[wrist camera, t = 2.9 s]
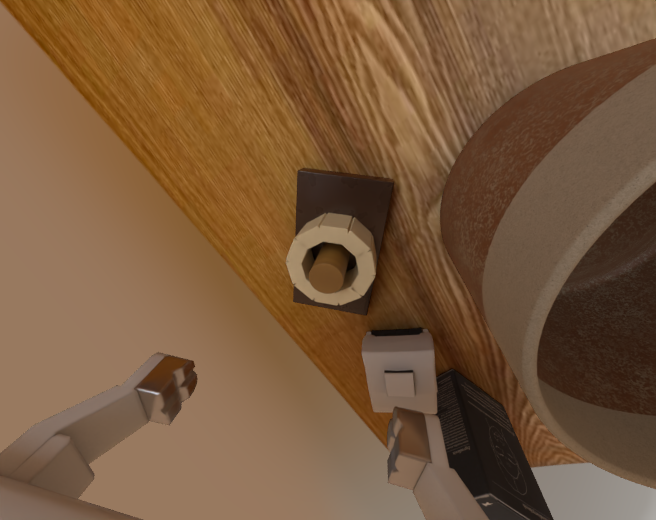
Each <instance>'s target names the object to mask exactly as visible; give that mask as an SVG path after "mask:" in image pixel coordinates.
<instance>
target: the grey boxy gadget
mask: <svg viewBox="0 0 656 520" xmlns="http://www.w3.org/2000/svg"><path fill="white" fill-rule="evenodd" d="M422 332H423V333H422ZM362 358H363V362H364V366H365V371H366V377H367V383H368V389H369V394H370V399H371V403H372V408H373V411H374V412H393V409H394V407H395V406H397V407H401V408H406V409H411V410H416V411H421V412H423V413H428V414H436V413H437V392H438V390H437V382H436V372H435V355H434V344H433V339H432V336H431V334H430V333H429V332H428V329H423V331H422V329H421V328H418V329H396V330H376V331H374V330H372V333H371V332H366V335H365V337H364V338H363V342H362Z"/></svg>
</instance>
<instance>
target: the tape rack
mask: <svg viewBox="0 0 656 520" xmlns="http://www.w3.org/2000/svg"><path fill="white" fill-rule="evenodd" d="M393 184H394V182H393V179H389V178H381V177H373V176H365V175H357V174H348V173H340V172H332V171H324V170H316V169H308V168H302V169H300V170H298V176H297V206H296V236H297V234H298V233H299V232H300V231H301V229H302V228H303V227H304V226H305V225H306V223H308V222H310V221H312V220H314V219H315V218H317V217H319V216H321V215H323V214H325V213H326V214H328V213H335V214H342V215H349V216H352V219H353V218H354V217H355V218H356V219H357V220H358V221H359V222H360V223H361V224H363V225H364V226H365V227H366V228H367V229H368V230H369V231H370V232H371V233H372V236H373V237H374V244H375V250H376V256H377V257H376V267H377V263H378V258H379V253H380V248H381V243H382V238H383V233H384V228H385V223H386V219H387V214H388V209H389V204H390V199H391V194H392V189H393ZM311 249H312V253H313V257H314V260H315V262H314V264H313V266H312V268H311V270H310V272H309V281H310V284H311V285H312V287H313V288H314V289H315V290H317V291H319V292H321V293H324V294H331V293H335V292H337V291H338V290H339V289H340V288H341V287H342V285H343V282H344V278H345V274H346V271H349V270H351V269H353V268H355V266H356V264H357V262H356V257H355V256H354V255H353V254H352V253H351V252H349V251H348V250H347V249H346V248H345V247H344V246H343V245H341V244H335V243H328V242H322V243H320V244H318V245H316V246H314V247H312V248H311ZM373 282H374V280H373ZM373 282H372V283H371V285H370V287H369V288H368V290H367V291H366V293H365V295H364V296H362V297H361V298H359V299H356V300H354V301H351V302H348V303H346V304H343V305H340V304H339V303H338V305H331V304H326V303H320V302H315V301H314V299H315V298H314V299H313V300H311V299H310V298H309V297H308V296H306V295H305V294H304V293H303V292H301V291H300V290H299V289H298V288H297V287H295V286H294V298H293V302H297V303H302V304H308V305H313V306H318V307H324V308H329V309H334V310H340V311H345V312H350V313H356V314H361V315H367V312H368V307H369V302H370V297H371V292H372V287H373ZM294 285H295V283H294Z"/></svg>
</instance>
